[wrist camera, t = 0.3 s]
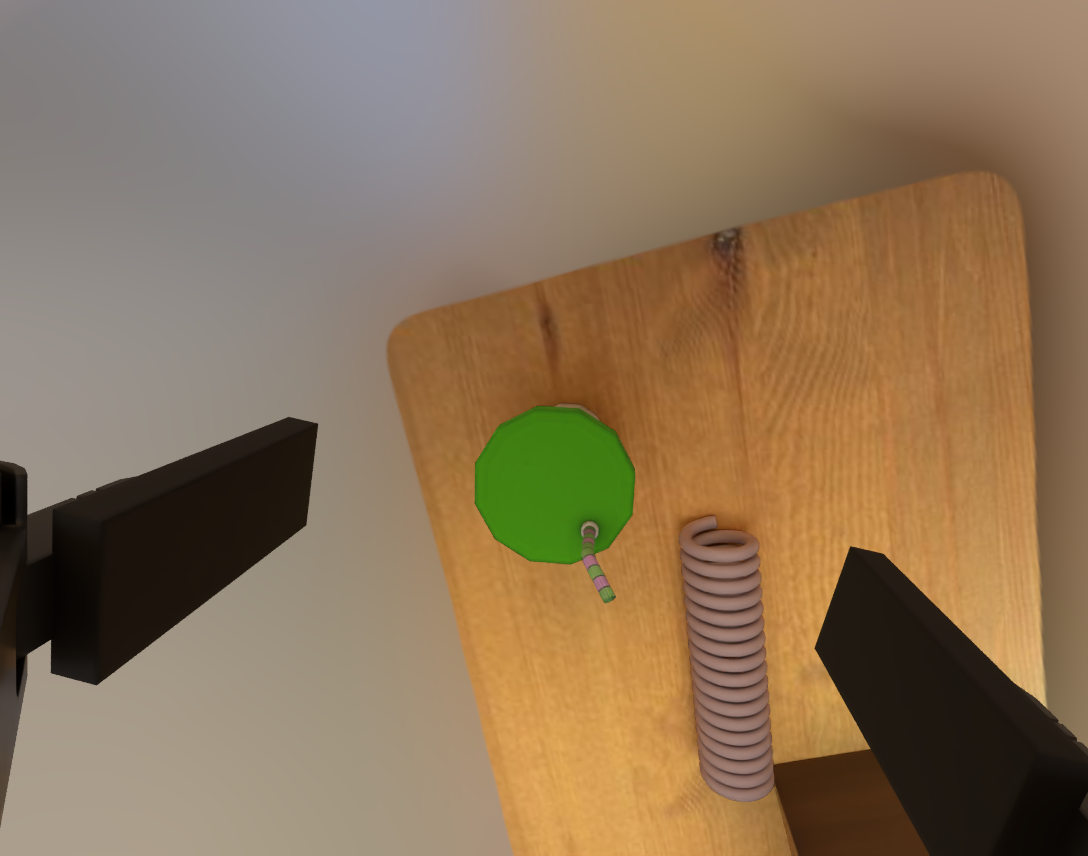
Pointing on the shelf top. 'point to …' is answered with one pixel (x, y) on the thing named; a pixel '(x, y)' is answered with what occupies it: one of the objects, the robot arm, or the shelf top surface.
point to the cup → (556, 487)
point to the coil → (727, 660)
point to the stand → (843, 808)
